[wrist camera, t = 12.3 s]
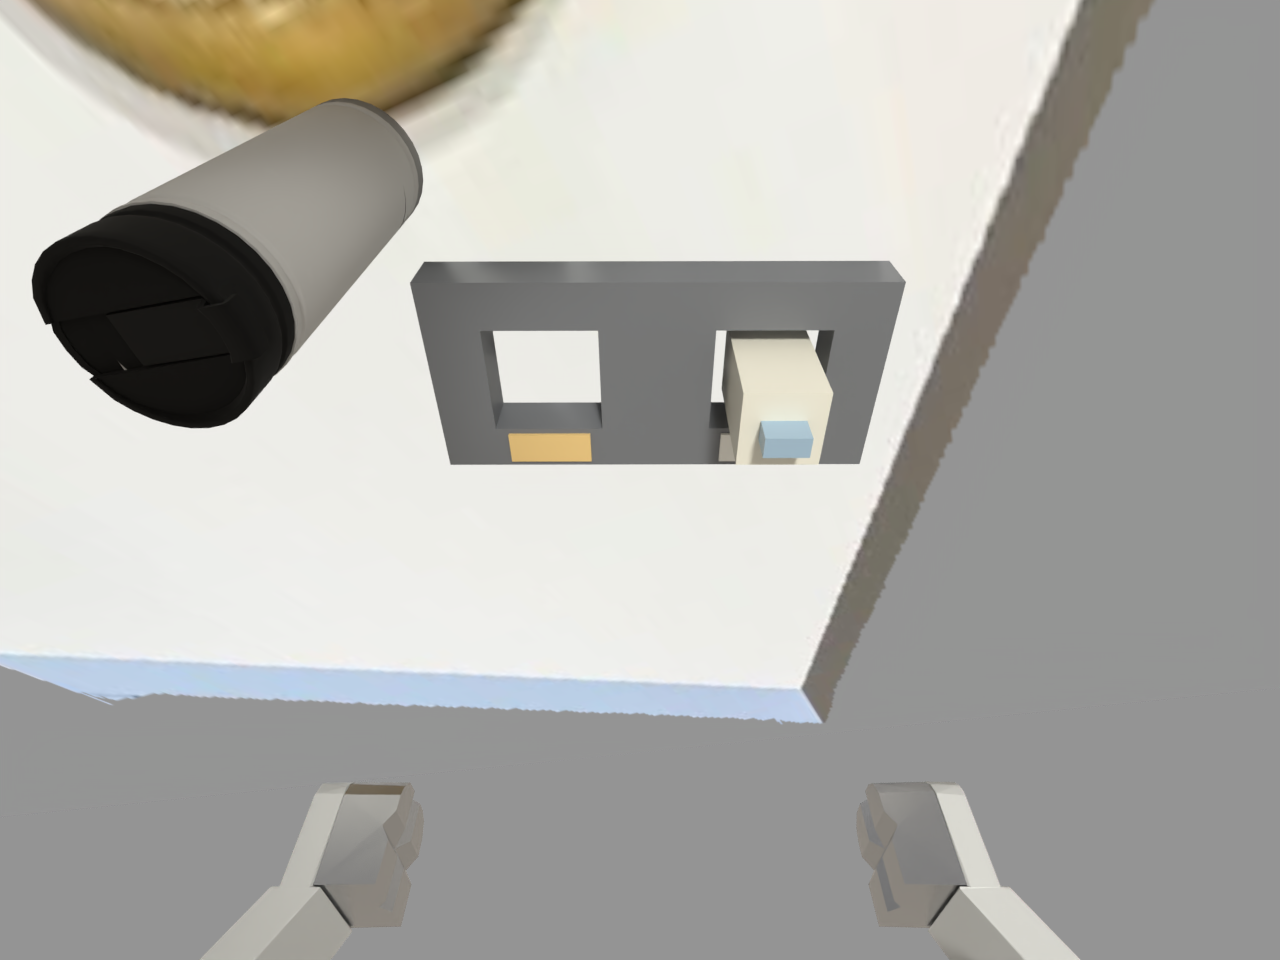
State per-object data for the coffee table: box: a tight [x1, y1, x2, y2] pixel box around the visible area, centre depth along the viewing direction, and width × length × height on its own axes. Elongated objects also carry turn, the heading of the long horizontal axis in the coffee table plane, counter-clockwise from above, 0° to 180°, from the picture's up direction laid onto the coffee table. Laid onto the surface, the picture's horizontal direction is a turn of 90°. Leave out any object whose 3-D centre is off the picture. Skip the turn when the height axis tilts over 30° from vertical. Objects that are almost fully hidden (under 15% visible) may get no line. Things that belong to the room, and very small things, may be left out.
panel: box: [410, 261, 906, 465], centre depth 40 cm, size 12×26×3 cm, turn 90°
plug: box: [722, 330, 833, 465], centre depth 38 cm, size 4×4×10 cm
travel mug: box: [32, 98, 423, 428], centre depth 27 cm, size 6×7×20 cm
